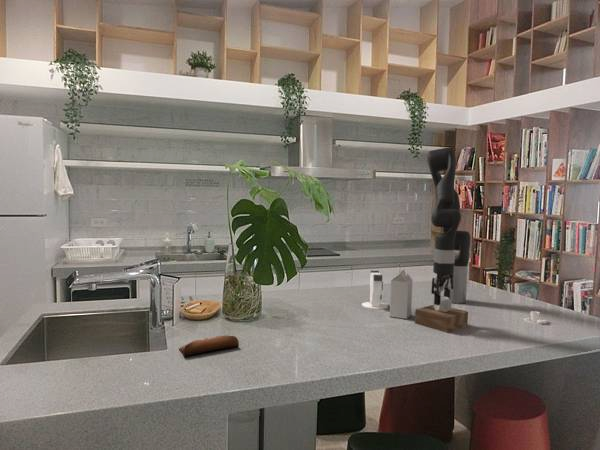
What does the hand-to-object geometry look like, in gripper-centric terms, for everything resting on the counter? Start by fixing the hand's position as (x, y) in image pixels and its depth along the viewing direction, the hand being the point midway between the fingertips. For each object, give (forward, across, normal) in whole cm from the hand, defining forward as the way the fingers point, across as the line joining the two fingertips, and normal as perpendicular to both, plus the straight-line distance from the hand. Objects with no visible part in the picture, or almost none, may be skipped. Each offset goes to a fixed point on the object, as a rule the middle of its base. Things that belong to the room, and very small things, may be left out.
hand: (441, 302), depth 172 cm
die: (+3, 0, 0) cm, 3 cm away
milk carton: (+9, +1, -17) cm, 19 cm away
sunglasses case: (+9, +79, -42) cm, 90 cm away
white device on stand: (+9, -5, -33) cm, 35 cm away
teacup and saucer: (+9, -30, +25) cm, 40 cm away
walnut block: (+9, 0, 0) cm, 9 cm away
